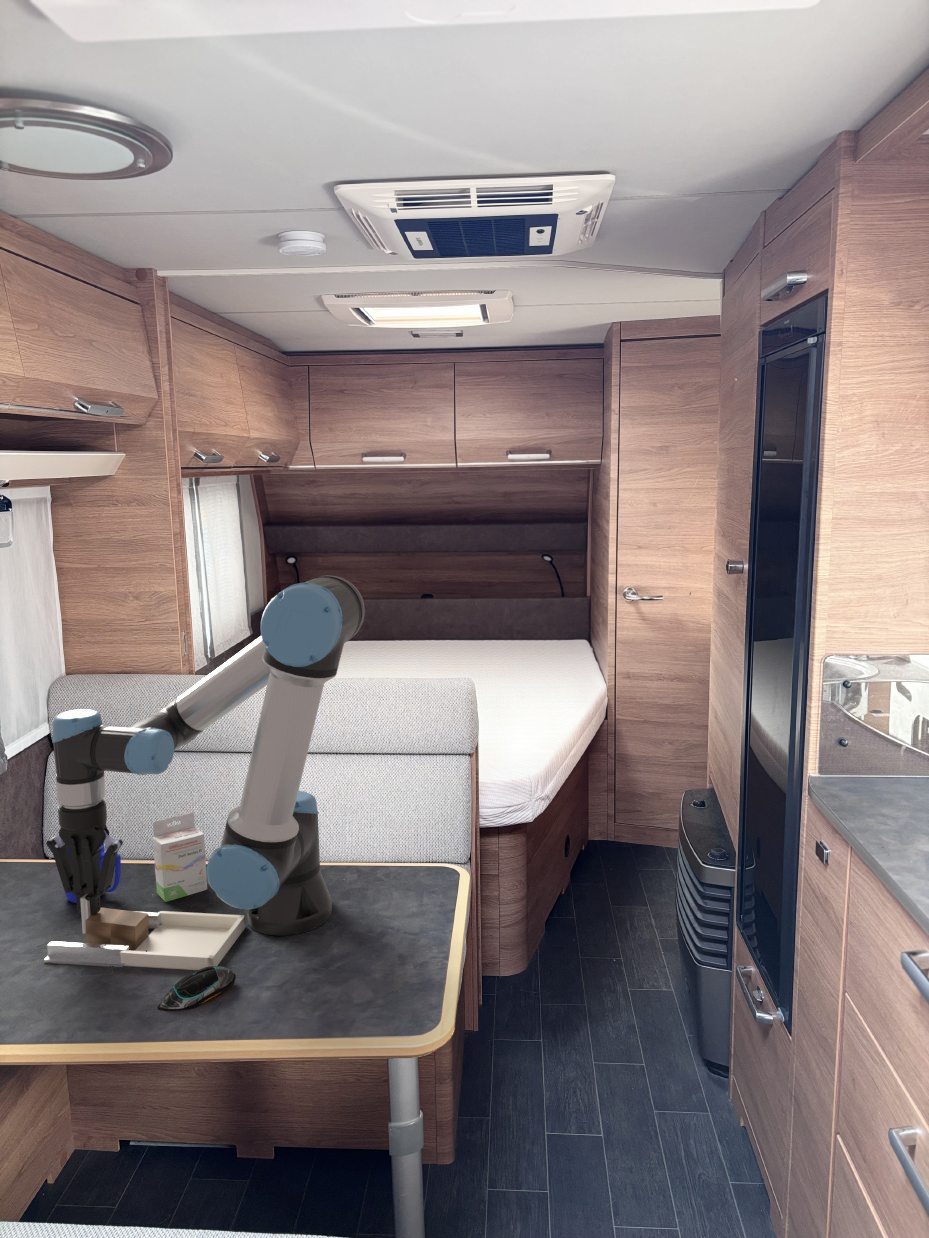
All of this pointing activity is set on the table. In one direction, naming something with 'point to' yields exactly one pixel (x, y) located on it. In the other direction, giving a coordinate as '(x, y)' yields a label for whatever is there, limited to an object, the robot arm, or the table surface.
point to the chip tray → (187, 941)
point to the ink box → (179, 857)
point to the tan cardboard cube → (129, 929)
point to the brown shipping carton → (101, 926)
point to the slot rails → (92, 950)
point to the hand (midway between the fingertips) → (90, 929)
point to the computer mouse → (197, 988)
